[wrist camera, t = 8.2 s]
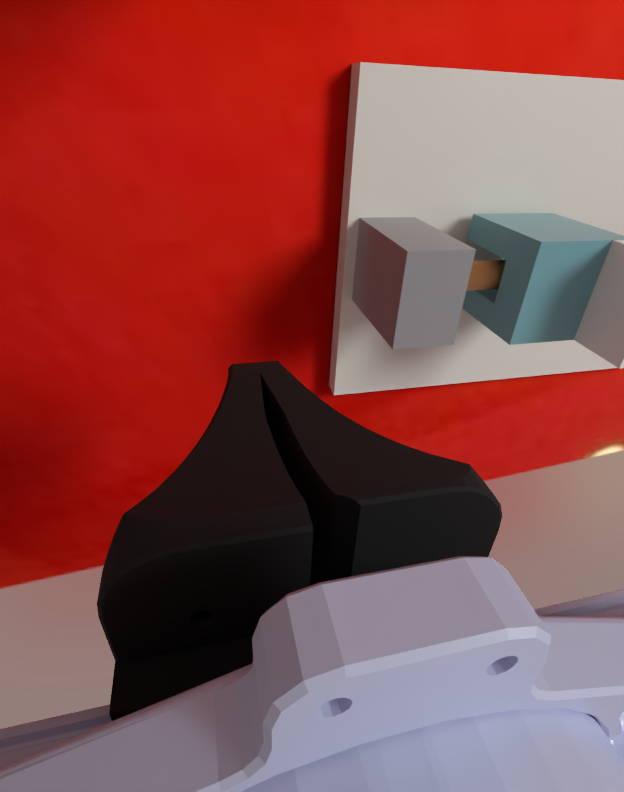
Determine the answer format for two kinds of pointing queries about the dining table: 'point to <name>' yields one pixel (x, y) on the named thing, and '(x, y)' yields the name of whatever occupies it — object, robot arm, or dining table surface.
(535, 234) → the slider block
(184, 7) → the dining table surface
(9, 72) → the dining table surface
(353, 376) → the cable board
